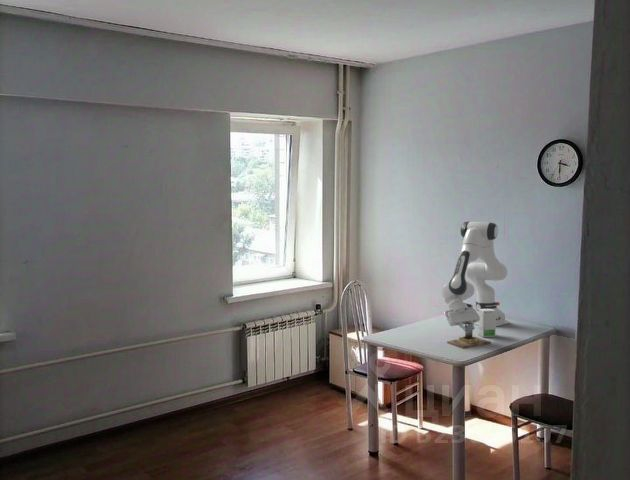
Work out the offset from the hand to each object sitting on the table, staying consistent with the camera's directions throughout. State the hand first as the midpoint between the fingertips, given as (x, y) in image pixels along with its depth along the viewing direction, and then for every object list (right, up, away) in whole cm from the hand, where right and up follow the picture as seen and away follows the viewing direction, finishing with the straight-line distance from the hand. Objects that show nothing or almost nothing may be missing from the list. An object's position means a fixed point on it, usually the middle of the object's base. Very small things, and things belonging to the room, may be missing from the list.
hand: (469, 329), depth 331 cm
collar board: (0, -8, +1) cm, 8 cm away
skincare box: (+15, -6, +17) cm, 23 cm away
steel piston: (0, -5, +1) cm, 5 cm away
